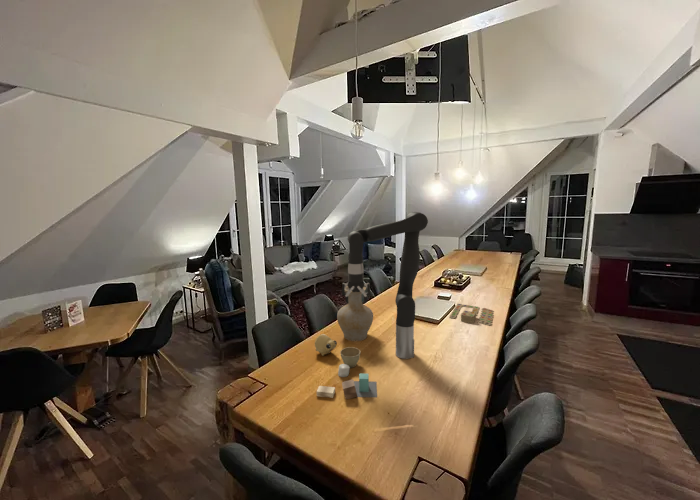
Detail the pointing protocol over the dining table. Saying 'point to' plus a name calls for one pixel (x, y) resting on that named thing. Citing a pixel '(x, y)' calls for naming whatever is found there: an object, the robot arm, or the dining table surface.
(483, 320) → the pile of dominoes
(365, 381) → the teal block
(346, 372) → the grey cylinder
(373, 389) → the felt mat
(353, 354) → the flower pot
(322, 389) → the beech slab
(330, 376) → the dining table surface
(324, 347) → the toy pig
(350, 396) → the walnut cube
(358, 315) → the vase
